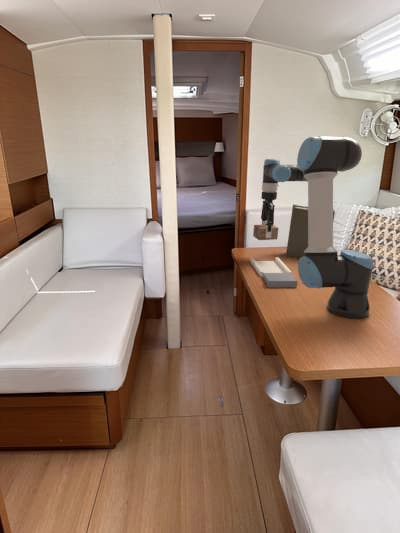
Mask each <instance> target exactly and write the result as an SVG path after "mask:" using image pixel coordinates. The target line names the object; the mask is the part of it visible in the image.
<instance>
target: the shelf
mask: <svg viewBox="0 0 400 533" xmlns="http://www.w3.org/2000/svg"><path fill="white" fill-rule="evenodd" d="M249 260H250V262H249V263H251V265H252V266H253V268H254V269H255V271H256V272H257V274H258V275H259V276H260V277H263V273H291V274H292V273H293V272H292V270H290V269H289V267H288V266H287V265H286V264H285V263H284V262H283V261H282V259H281V258H280V257H279V256H277V257H275V260H256V259H255V258H254V257H251V256H250V259H249ZM292 275H293V274H292Z"/></svg>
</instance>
